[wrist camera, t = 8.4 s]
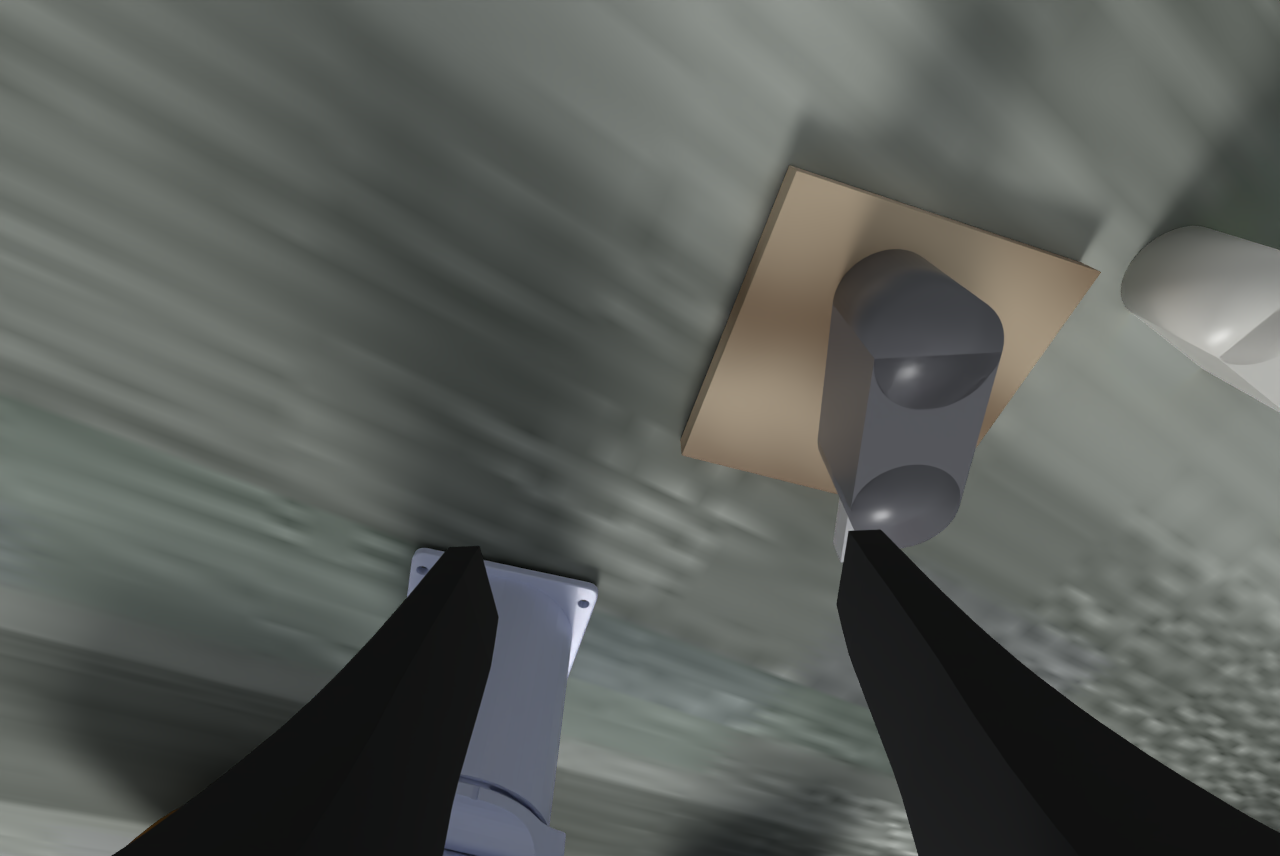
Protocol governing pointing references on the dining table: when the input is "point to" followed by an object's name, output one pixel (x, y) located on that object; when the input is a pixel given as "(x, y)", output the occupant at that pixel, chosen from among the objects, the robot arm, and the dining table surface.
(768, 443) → the cork pad
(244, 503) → the dining table surface
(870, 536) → the robot arm
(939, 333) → the charcoal plug
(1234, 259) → the offwhite plug
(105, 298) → the dining table surface
